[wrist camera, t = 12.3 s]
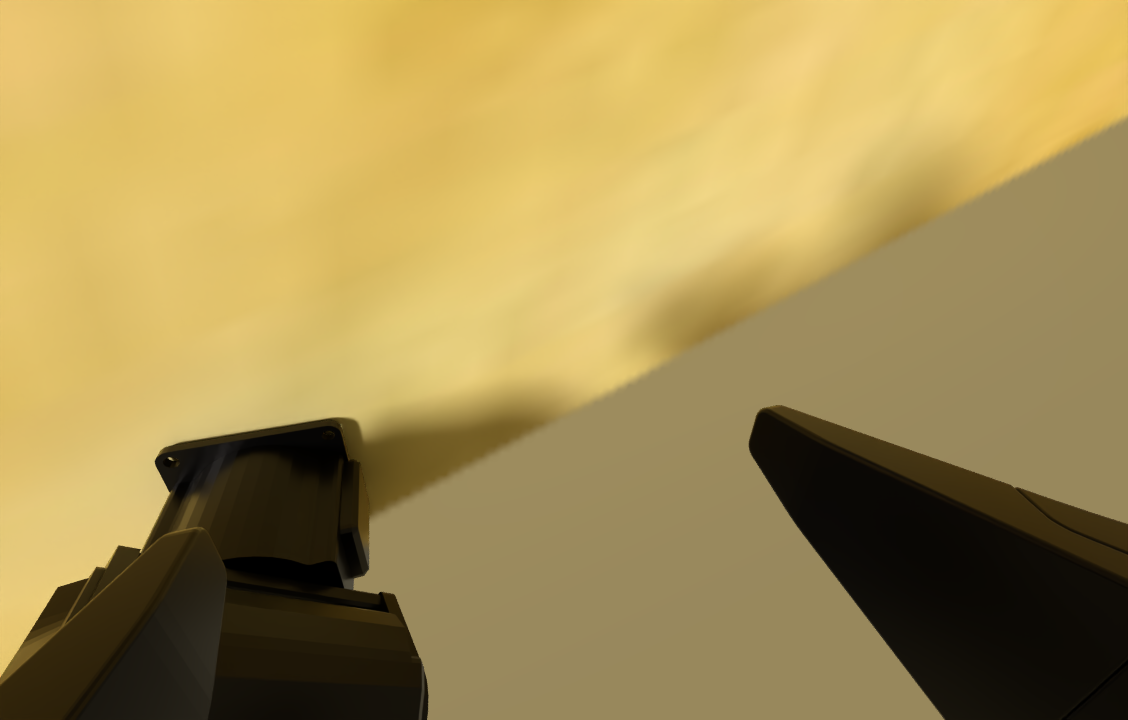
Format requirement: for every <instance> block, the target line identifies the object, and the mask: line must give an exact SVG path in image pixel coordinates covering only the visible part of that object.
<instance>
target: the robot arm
mask: <svg viewBox="0 0 1128 720" xmlns="http://www.w3.org/2000/svg"><path fill="white" fill-rule="evenodd" d="M325 431H332V432H334V433H333V434H331V435H326V434H324V433H323V432H325ZM749 450H750V453H751V455H752V457H753V458H754V460H755V461H756V463H757V465H758V466H759V468H760V469H761V471H762V473H763V474H764V475H765V477H766V479H767V480H768V482H769V484H770V485H771V487H772V488H773V490H774V492H775V493H776V495H777V496H778V498H779V499H780V501H781V502H782V504H783V506H784V507H785V509H786V510H787V512H788V513H789V515H790V517H791V518H792V519H793V521H794V522H795V524H796V525H797V527H798V528H799V529H800V531H801V532H802V534H803V535H804V536H805V537H806V539H807V540H808V541H809V543H810V544H811V545H812V547H813V548H814V549H815V550H816V552H817V553H818V554H819V556H820V557H821V558H822V560H823V561H824V562H825V564H826V565H827V566H828V568H829V569H830V570H831V572H832V573H833V574H834V575H835V577H836V578H837V579H838V581H839V582H840V583H841V585H842V586H843V587H844V589H845V590H846V591H847V592H848V594H849V595H850V596H851V597H852V599H853V600H854V602H855V603H856V604H857V606H858V607H859V608H860V609H861V611H862V612H863V613H864V615H865V616H866V617H867V619H868V620H869V621H870V623H871V624H872V625H873V626H874V628H875V629H876V630H877V632H878V633H879V634H880V636H881V637H882V638H883V640H884V641H885V642H886V644H887V645H888V646H889V647H890V649H891V650H892V651H893V652H894V654H895V655H896V657H897V658H898V659H899V660H900V662H901V663H902V664H903V666H904V667H905V668H906V670H907V671H908V672H909V674H910V675H911V676H912V678H913V679H914V680H915V681H916V683H917V684H918V685H919V686H920V688H921V689H922V691H923V692H924V693H925V694H926V696H927V697H928V698H929V700H930V701H931V702H932V704H933V705H934V706H935V708H936V709H937V710H938V712H939V713H940V714H941V715H942V717H943V718H944V719H945V720H1128V524H1126V523H1123V522H1120V521H1116V520H1114V519H1110V518H1107V517H1104V516H1101V515H1098V514H1095V513H1091V512H1088V511H1085V510H1082V509H1080V508H1077V507H1074V506H1071V505H1068V504H1065V503H1062V502H1059V501H1055V500H1053V499H1050V498H1047V497H1044V496H1041V495H1038V494H1035V493H1033V492H1030V491H1027V490H1024V489H1021V488H1018V487H1016V488H1014V487H1013V486H1011V485H1009V484H1006V483H1004V482H1001V481H998V480H995V479H992V478H989V477H986V476H983V475H980V474H977V473H975V472H972V471H969V470H966V469H963V468H960V467H958V466H955V465H952V464H949V463H946V462H943V461H940V460H937V459H934V458H931V457H929V456H926V455H923V454H920V453H917V452H914V451H912V450H909V449H906V448H903V447H900V446H897V445H894V444H891V443H888V442H886V441H883V440H880V439H877V438H874V437H871V436H869V435H866V434H863V433H859V432H857V431H854V430H851V429H848V428H846V427H842V426H840V425H837V424H834V423H831V422H828V421H825V420H822V419H819V418H817V417H814V416H811V415H808V414H805V413H802V412H800V411H797V410H794V409H791V408H788V407H785V406H782V405H776V406H771V407H766V408H762V409H761V410H760V411H759V412H758V413H757V415H756V418H755V422H754V426H753V429H752V432H751V436H750V439H749ZM168 457H174V458H176V459H178V460H179V461H172V460H169V459H168ZM155 465H156V467H157V469H158V471H159V473H160V475H161V477H162V479H163V481H164V483H165V484H166V486H167V488H168V490H169V492H170V494H169V496H168V498H167V500H166V502H165V504H164V506H163V508H162V510H161V512H160V514H159V516H158V518H157V520H156V523H155V525H154V527H153V529H152V531H151V533H150V535H149V537H148V539H147V541H146V543H145V545H144V547H143V549H142V551H141V553H139V552H140V550H141V549H136V548H130V547H125V546H118V547H117V549H116V550H115V552H114V554H113V555H112V557H111V558H110V560H109V562H108V563H107V565H106V567H105V568H102V567H96V568H95V570H94V571H93V573H92V575H90V577H89V578H87V579H84V580H80V581H77V582H74V583H70V584H67V585H64V586H60V587H58V588H57V589H56V591H55V593H54V594H53V596H52V597H51V599H50V601H49V602H48V604H47V605H46V607H45V609H44V610H43V612H42V613H41V615H40V617H39V618H38V620H37V621H36V623H35V625H34V626H33V628H32V629H31V631H30V633H29V634H28V636H27V637H26V639H25V641H24V642H23V644H22V645H21V647H20V648H19V650H18V651H17V653H16V654H15V656H14V658H13V659H12V661H11V662H10V664H9V665H8V667H7V668H6V670H5V671H4V673H3V674H2V676H1V677H0V720H427V715H428V687H427V679H426V675H425V672H424V666H423V664H422V661H421V659H420V658H419V656H418V653H417V650H416V648H415V645H414V643H413V640H412V637H411V635H410V632H409V630H408V627H407V625H406V622H405V620H404V617H403V614H402V612H401V609H400V607H399V604H398V602H397V599H396V597H395V595H394V594H391V593H385V592H380V593H379V594H374V593H367V592H362V591H356V590H353V584H354V578H357V577H361V576H364V575H365V574H366V572H367V571H368V570H369V499H368V495H367V491H366V486H365V482H364V478H363V474H362V469H361V465H360V463H359V462H357V461H356V460H350V459H349V455H348V451H347V447H346V443H345V439H344V435H343V431H342V427H341V425H340V424H339V423H337V422H336V421H332V420H326V421H320V422H314V423H307V424H301V425H295V426H289V427H283V428H277V429H271V430H265V431H258V432H252V433H246V434H240V435H234V436H228V437H222V438H216V439H209V440H203V441H197V442H191V443H185V444H179V445H173V446H168V447H165V448H163V449H162V450H161V451H160V452H159V454H158V456H157V458H156V460H155Z"/></svg>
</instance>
